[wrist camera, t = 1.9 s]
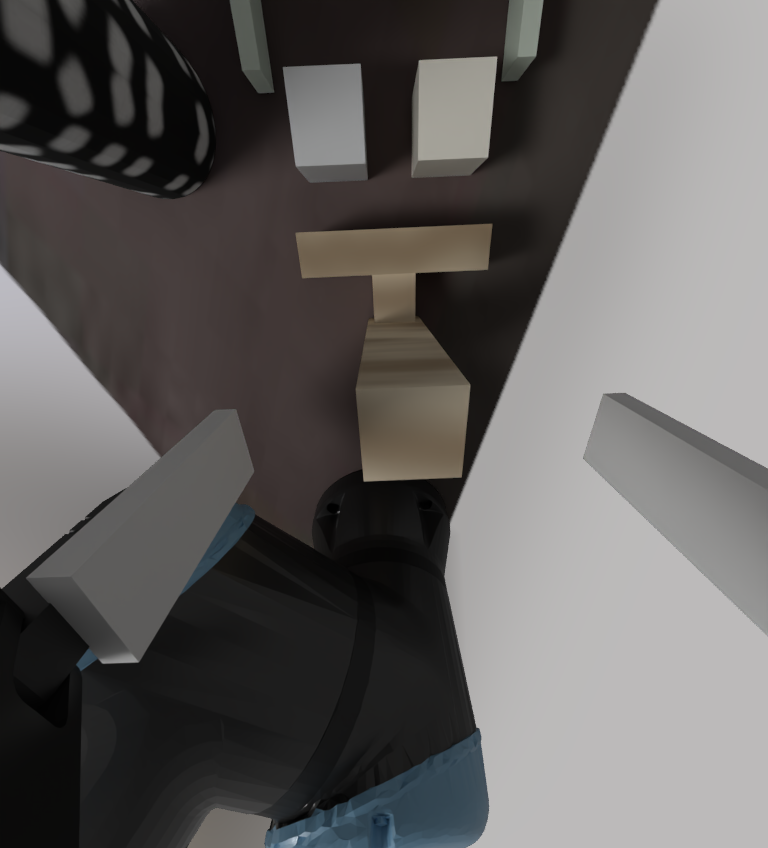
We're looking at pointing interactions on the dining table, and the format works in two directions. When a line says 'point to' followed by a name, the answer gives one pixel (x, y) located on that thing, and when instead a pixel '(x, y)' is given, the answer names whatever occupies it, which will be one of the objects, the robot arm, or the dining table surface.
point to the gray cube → (327, 121)
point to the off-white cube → (452, 115)
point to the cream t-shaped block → (403, 345)
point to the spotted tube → (102, 96)
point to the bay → (256, 57)
